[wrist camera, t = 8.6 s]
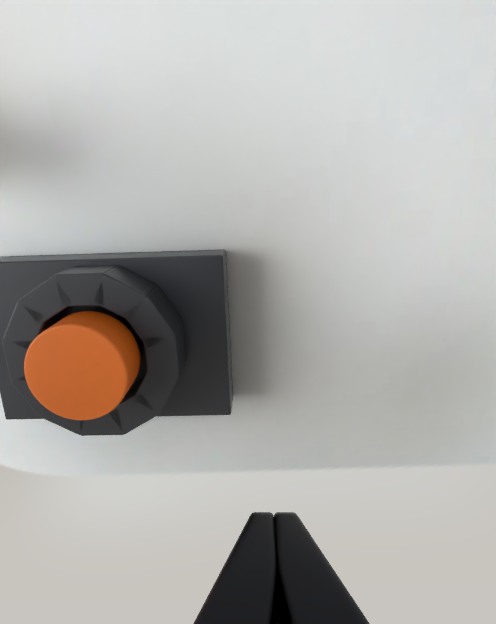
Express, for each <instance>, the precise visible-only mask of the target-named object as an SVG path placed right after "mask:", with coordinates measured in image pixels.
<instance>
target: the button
mask: <svg viewBox="0 0 496 624" xmlns="http://www.w3.org/2000/svg"><path fill="white" fill-rule="evenodd" d="M140 363H141V356H140V350H139V347H138V344H137V341H136V339H135V337H134V336H133V334H132V333H131V332H130V330H129V329H128V328H127V327H126V326H125V325H124V324H123V323H121V322H120V321H119V320H117V319H115V318H114V317H112V316H109V315H107V314H104V313H101V312H95V311H81V312H77V313H73V314H71V315H68V316H67V317H65V318H63V319H62V320H60V321H58V322H57V323H55V324H54V325H52V326H51V327H49V328H48V329H46V330H44V331H43V332H42V333H40V334H39V335H38V336H37V337H36V338H35V339H34V340H33V341H32V343H31V344H30V346H29V348H28V350H27V353H26V356H25V361H24V373H25V378H26V382H27V384H28V387H29V389H30V390H31V392H32V394H33V395H34V397H35V398H36V399H37V400H38V401H39V402H40V403H41V404H42V405H43V406H44V407H45V408H47V409H48V410H49V411H51V412H53V413H55V414H57V415H59V416H61V417H64V418H68V419H72V420H91V419H96V418H99V417H102V416H104V415H106V414H108V413H110V412H111V411H112V410H114V409H115V408H116V407H117V406H118V405H119V404H120V402H121V401H122V399H123V398H124V396H125V395H126V393H127V392H128V390H129V389H130V387H131V386H132V384H133V383H134V381H135V379H136V378H137V375H138V373H139V369H140Z"/></svg>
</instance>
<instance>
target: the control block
mask: <svg viewBox="0 0 496 624" xmlns="http://www.w3.org/2000/svg"><path fill="white" fill-rule="evenodd" d="M81 311H95V312H101V313H104V314H107V315H109V316H112V317H114V318H115V319H117V320H119V321H120V322H121V323H123V324H124V325H125V326H126V327H127V328H128V329H129V330H130V332H131V333H132V334H133V336H134V337H135V339H136V341H137V344H138V347H139V350H140V356H141V363H140V369H139V373H138V375H137V378H136V379H135V381H134V383H133V384H132V386H131V387H130V389H129V390H128V392H127V393H126V395H125V396H124V398H123V399H122V401H121V402H120V404H119V405H118V406H117V407H116V408H115V409H114V410H112V411H111V412H110V413H108V414H106V415H104V416H102V417H99V418H96V419H91V420H72V419H68V418H64V417H61V416H59V415H57V414H55V413H53V412H51V411H49V410H48V409H47V408H45V407H44V406H43V405H42V404H41V403H40V402H39V401H38V400H37V399H36V398H35V397H34V395H33V394H32V392H31V390H30V389H29V387H28V384H27V382H26V378H25V373H24V361H25V356H26V353H27V350H28V348H29V346H30V344H31V343H32V341H33V340H34V339H35V338H36V337H37V336H38V335H39V334H40V333H42V332H43V331H44V330H46V329H48V328H49V327H51V326H52V325H54V324H55V323H57V322H58V321H60V320H62V319H63V318H65V317H67V316H68V315H71V314H73V313H77V312H81ZM0 393H1V398H2V403H3V407H4V412H5V416H6V419H46V420H48V421H50V422H53V423H55V424H57V425H59V426H61V427H63V428H66V429H68V430H70V431H72V432H74V433H77V434H79V435H80V434H81V435H82V436H84V435H123V434H126V433H128V432H129V431H131V430H133V429H135V428H136V427H138V426H140V425H142V424H143V423H145V422H147V421H149V420H150V419H152V418H154V417H156V416H192V415H230V414H231V409H232V400H233V387H232V366H231V346H230V325H229V305H228V284H227V264H226V251H225V250H197V251H166V252H134V253H103V254H72V255H40V256H9V257H0Z"/></svg>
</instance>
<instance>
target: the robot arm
mask: <svg viewBox="0 0 496 624" xmlns="http://www.w3.org/2000/svg"><path fill="white" fill-rule="evenodd" d="M194 624H369V622H368V621H367V619H366V618H365V616H364V615H363V613H362V612H361V610H360V609H359V607H358V606H357V604H356V603H355V601H354V600H353V598H352V597H351V596H350V594H349V592H348V591H347V589H346V588H345V586H344V585H343V583H342V582H341V580H340V579H339V577H338V576H337V574H336V573H335V571H334V570H333V568H332V567H331V565H330V564H329V562H328V561H327V559H326V558H325V556H324V555H323V553H322V552H321V550H320V549H319V547H318V546H317V544H316V543H315V541H314V540H313V538H312V537H311V535H310V534H309V532H308V531H307V529H306V528H305V526H304V525H303V523H302V522H301V520H300V519H299V517H298V516H297V515H296V514H295V513H293V512H277V513H275V515H274V516H273V514H272V513H270V512H258V513H257V512H255V513H252V514H251V516H250V517H249V519H248V521H247V523H246V525H245V527H244V529H243V530H242V533H241V534H240V536H239V538H238V540H237V542H236V544H235V546H234V548H233V549H232V551H231V553H230V555H229V557H228V559H227V561H226V563H225V565H224V567H223V569H222V571H221V572H220V574H219V576H218V578H217V580H216V582H215V584H214V586H213V588H212V590H211V591H210V594H209V595H208V597H207V599H206V601H205V603H204V605H203V607H202V609H201V611H200V612H199V614H198V616H197V619H196V620H195V622H194Z"/></svg>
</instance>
